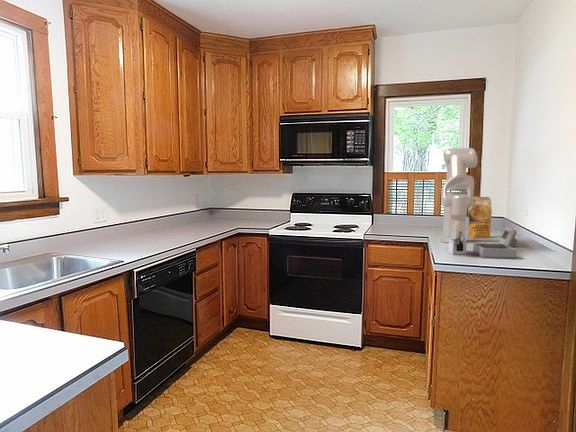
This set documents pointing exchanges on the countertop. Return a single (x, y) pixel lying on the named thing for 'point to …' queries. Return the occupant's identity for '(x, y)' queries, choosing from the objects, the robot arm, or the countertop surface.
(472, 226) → the pancake mix bag
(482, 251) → the bin
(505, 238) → the digital clock
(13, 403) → the countertop surface
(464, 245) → the medicine box
